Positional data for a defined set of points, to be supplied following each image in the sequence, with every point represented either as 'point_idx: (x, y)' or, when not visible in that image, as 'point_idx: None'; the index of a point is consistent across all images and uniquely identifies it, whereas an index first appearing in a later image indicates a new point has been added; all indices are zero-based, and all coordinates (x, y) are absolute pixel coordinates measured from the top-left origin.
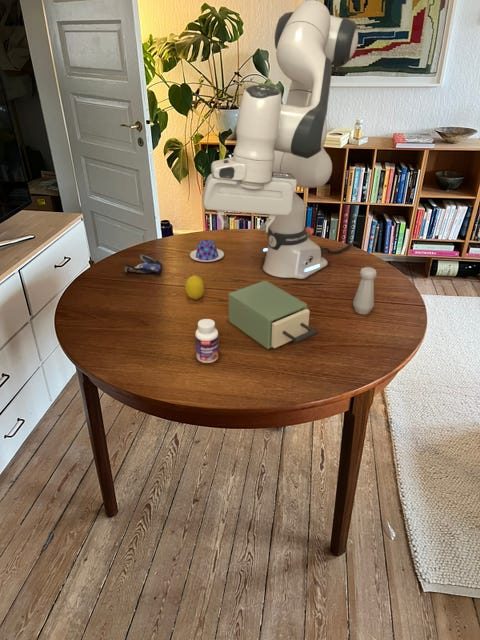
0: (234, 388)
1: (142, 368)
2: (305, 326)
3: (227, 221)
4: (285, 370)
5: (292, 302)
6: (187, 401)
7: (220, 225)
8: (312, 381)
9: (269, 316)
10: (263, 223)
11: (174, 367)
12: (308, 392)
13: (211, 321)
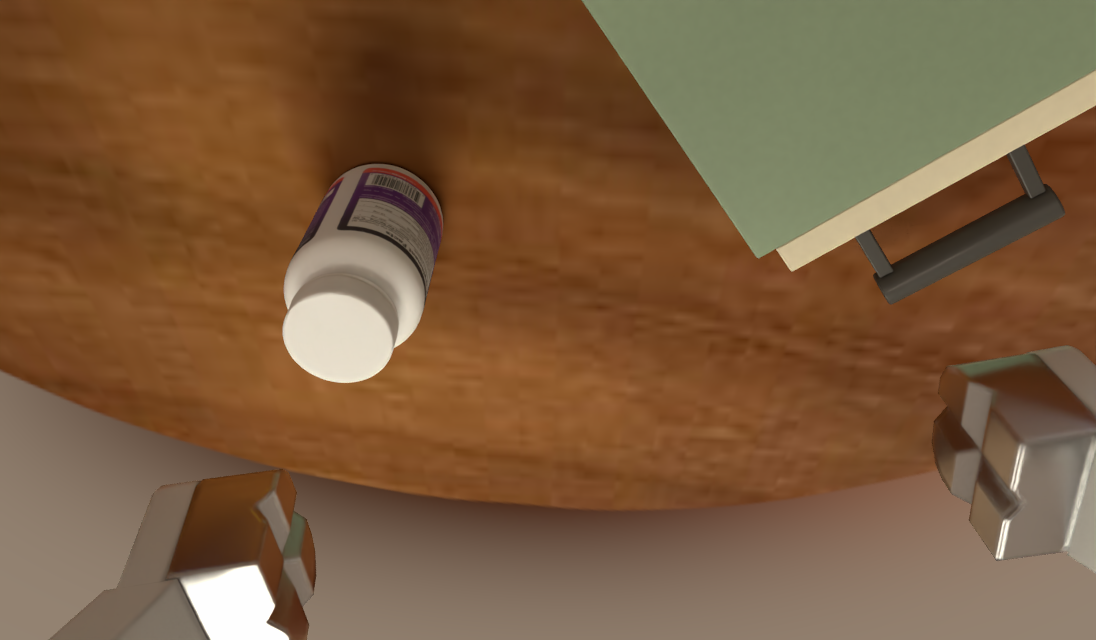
0: (530, 423)
1: (76, 288)
2: (1010, 155)
3: (272, 607)
4: (779, 328)
5: (1016, 22)
6: (344, 477)
7: (151, 502)
8: (882, 399)
9: (770, 221)
10: (1063, 456)
11: (231, 287)
12: (840, 455)
13: (368, 322)
